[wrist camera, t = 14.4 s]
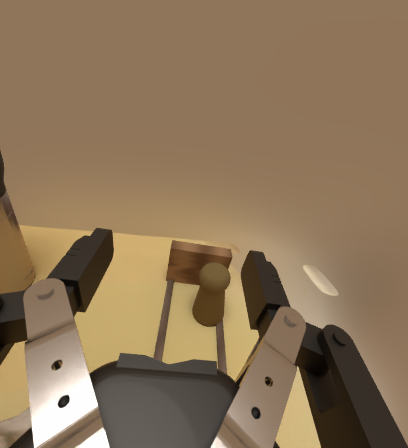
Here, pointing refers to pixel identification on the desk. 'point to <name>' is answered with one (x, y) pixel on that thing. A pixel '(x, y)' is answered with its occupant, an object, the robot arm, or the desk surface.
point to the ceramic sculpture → (14, 428)
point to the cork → (211, 294)
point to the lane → (189, 273)
